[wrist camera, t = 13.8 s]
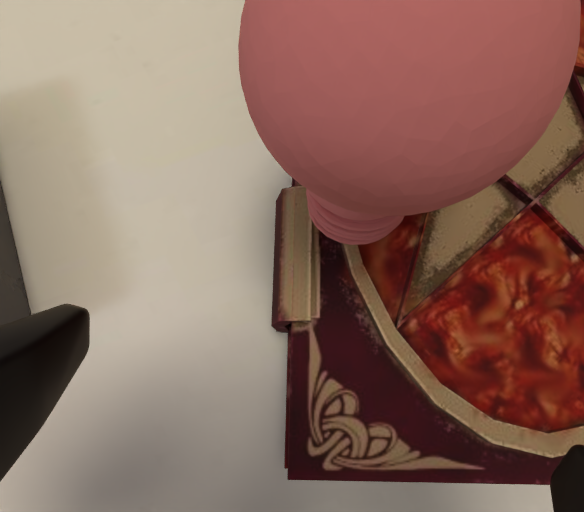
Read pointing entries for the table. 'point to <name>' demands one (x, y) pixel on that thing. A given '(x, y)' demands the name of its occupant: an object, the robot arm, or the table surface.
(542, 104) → the pink screw bulb
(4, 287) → the square frame
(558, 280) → the book
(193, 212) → the table surface
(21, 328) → the robot arm
